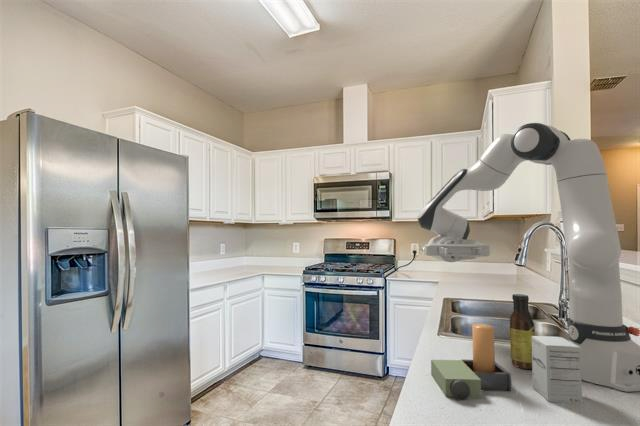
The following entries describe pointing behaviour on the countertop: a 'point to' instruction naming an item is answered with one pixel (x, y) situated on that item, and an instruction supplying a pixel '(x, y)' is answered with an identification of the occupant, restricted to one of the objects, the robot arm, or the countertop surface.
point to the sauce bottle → (521, 332)
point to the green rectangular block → (456, 379)
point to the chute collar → (493, 378)
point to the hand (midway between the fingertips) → (464, 251)
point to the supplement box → (557, 369)
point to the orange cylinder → (483, 348)
